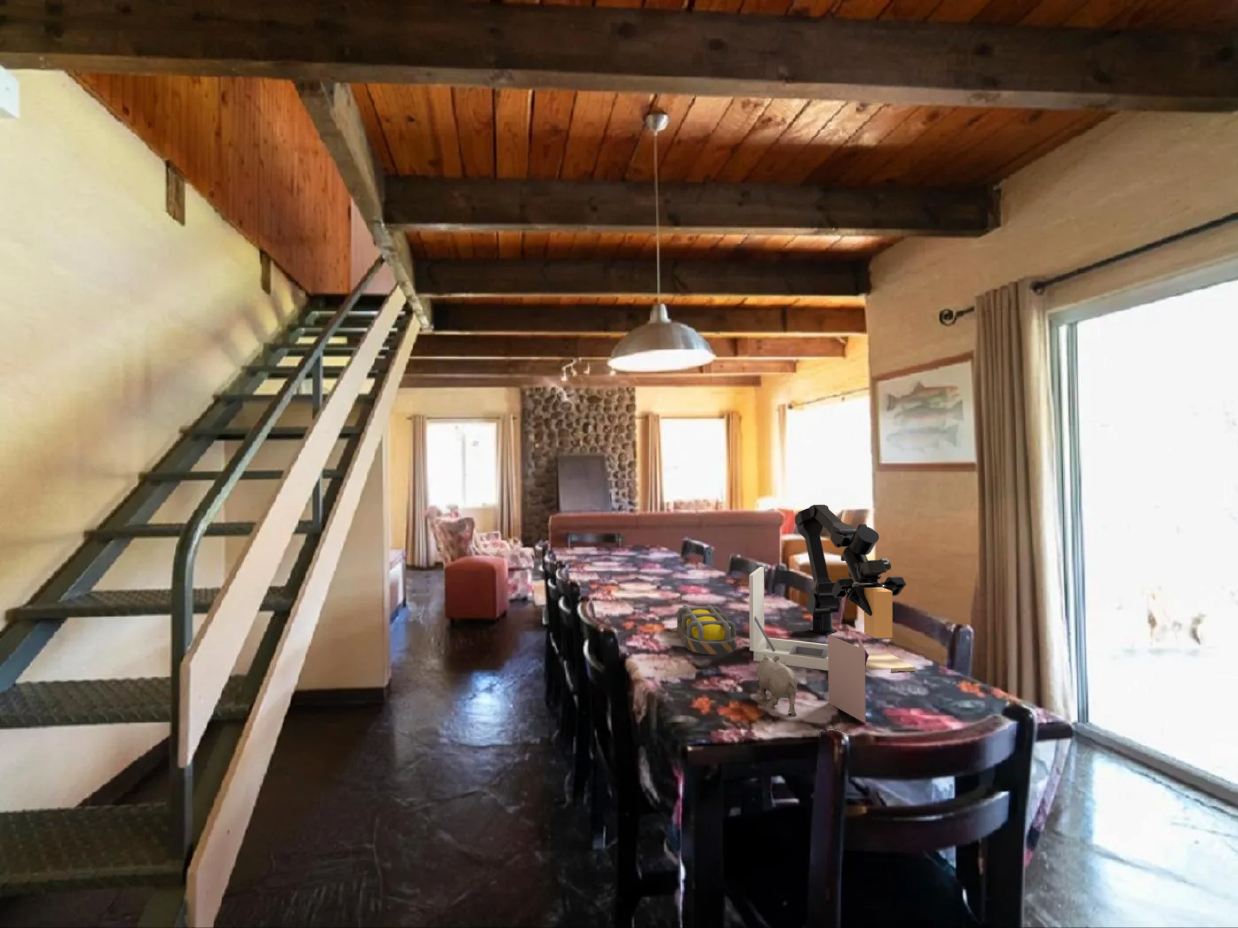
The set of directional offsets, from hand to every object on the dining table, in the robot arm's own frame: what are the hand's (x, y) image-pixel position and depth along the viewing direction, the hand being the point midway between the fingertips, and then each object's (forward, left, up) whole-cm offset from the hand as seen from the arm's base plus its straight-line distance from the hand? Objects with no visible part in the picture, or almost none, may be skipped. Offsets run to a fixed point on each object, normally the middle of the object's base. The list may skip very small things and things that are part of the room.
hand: (880, 614), depth 157 cm
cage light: (+16, -47, -14) cm, 51 cm away
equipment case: (+13, -17, -13) cm, 25 cm away
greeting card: (+33, +9, -14) cm, 37 cm away
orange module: (-1, -1, -6) cm, 6 cm away
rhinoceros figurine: (+40, -4, -14) cm, 42 cm away
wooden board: (-1, -1, -13) cm, 14 cm away
